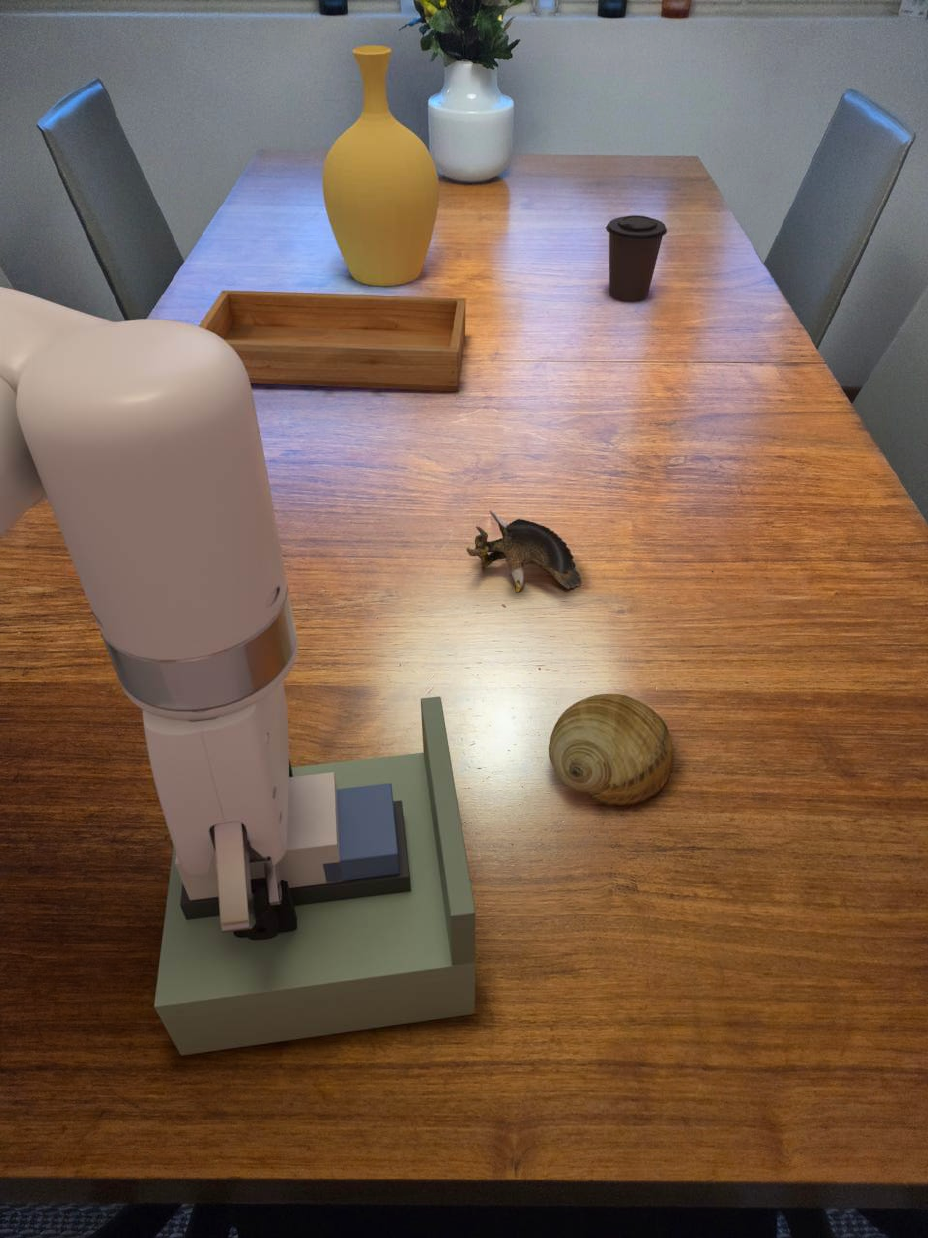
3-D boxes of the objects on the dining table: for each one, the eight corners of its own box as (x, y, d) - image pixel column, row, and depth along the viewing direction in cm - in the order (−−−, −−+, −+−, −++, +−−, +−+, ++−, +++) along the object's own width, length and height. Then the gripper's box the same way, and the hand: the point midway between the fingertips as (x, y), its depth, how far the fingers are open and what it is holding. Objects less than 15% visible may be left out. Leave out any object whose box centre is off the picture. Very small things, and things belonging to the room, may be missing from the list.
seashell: (622, 763, 67) (574, 674, 65) (705, 747, 62) (656, 651, 61) (570, 843, 59) (515, 745, 58) (661, 831, 55) (603, 724, 53)
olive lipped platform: (180, 1056, 47) (126, 958, 40) (202, 835, 57) (162, 725, 50) (474, 1014, 49) (475, 913, 41) (444, 806, 59) (440, 695, 51)
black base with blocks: (185, 920, 46) (163, 868, 43) (194, 840, 50) (174, 786, 47) (411, 891, 48) (406, 839, 44) (403, 815, 51) (398, 761, 48)
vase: (312, 286, 125) (284, 57, 106) (357, 247, 136) (339, 34, 117) (418, 300, 121) (408, 65, 102) (455, 259, 132) (453, 40, 114)
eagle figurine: (468, 598, 73) (575, 595, 71) (463, 512, 72) (572, 506, 70) (488, 587, 80) (587, 584, 78) (484, 509, 79) (583, 504, 77)
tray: (465, 337, 112) (465, 293, 109) (458, 394, 101) (458, 348, 97) (230, 332, 114) (221, 289, 110) (197, 388, 103) (186, 342, 99)
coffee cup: (597, 303, 120) (605, 228, 113) (601, 281, 126) (608, 207, 119) (657, 307, 119) (668, 231, 112) (658, 285, 125) (668, 211, 118)
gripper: (138, 516, 42) (211, 750, 54) (69, 813, 30) (184, 1033, 42) (294, 503, 43) (332, 736, 55) (292, 788, 30) (342, 1011, 42)
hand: (268, 863), depth 48 cm, fingers open, 7 cm apart
